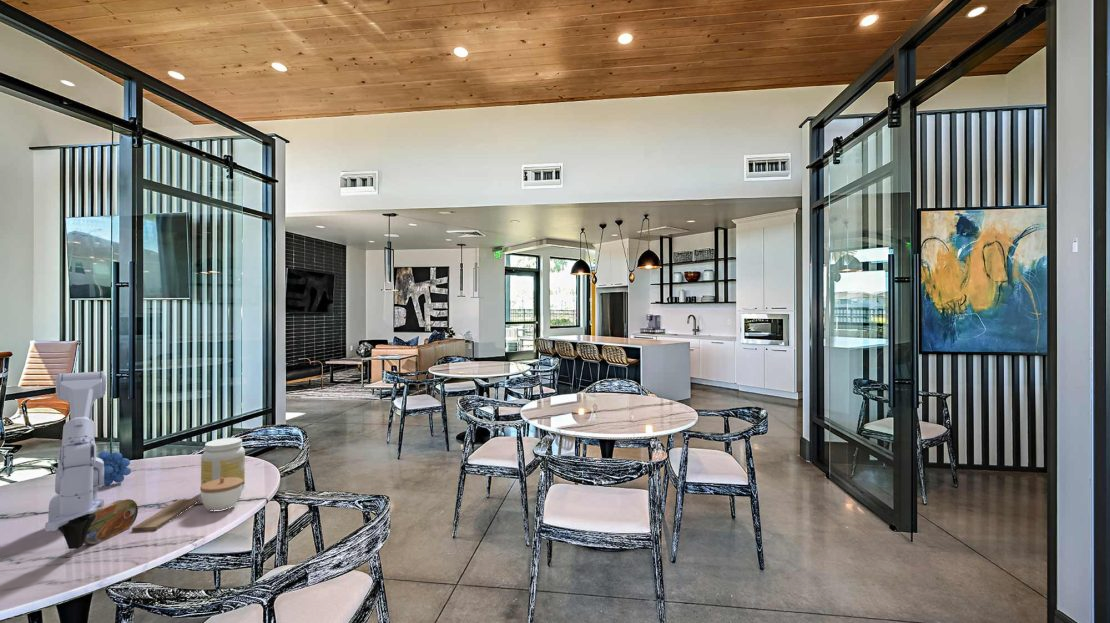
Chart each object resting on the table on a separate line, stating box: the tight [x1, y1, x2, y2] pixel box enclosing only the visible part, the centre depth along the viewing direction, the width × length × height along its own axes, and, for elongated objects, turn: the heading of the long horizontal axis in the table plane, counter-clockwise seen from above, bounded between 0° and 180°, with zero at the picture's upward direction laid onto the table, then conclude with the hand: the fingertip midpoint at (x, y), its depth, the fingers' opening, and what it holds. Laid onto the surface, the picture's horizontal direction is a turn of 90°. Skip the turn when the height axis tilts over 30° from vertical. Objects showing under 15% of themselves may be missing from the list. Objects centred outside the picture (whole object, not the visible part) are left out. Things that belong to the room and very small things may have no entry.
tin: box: [83, 498, 139, 545], centre depth 126 cm, size 15×3×8 cm, turn 179°
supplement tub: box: [200, 437, 246, 489], centre depth 159 cm, size 12×12×17 cm
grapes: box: [96, 450, 132, 486], centre depth 163 cm, size 12×7×12 cm, turn 126°
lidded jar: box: [200, 477, 243, 511], centre depth 145 cm, size 11×11×9 cm
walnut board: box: [131, 498, 200, 533], centre depth 139 cm, size 6×20×1 cm, turn 9°
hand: (75, 547), depth 116 cm, fingers closed
